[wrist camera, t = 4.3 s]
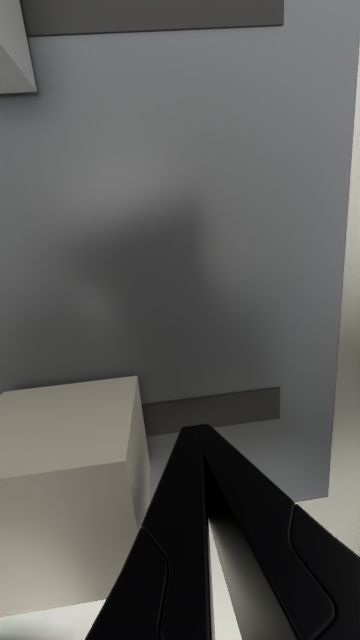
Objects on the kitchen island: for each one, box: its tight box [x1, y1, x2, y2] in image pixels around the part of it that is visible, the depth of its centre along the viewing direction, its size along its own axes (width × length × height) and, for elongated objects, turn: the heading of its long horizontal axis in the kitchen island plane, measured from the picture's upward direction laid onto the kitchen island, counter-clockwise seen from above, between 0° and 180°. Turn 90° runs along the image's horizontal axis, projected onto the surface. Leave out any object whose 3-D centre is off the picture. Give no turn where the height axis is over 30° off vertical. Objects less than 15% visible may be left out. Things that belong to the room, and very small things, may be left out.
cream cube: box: [0, 376, 151, 617], centre depth 7 cm, size 4×4×4 cm
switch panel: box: [0, 0, 360, 502], centre depth 8 cm, size 16×20×2 cm
